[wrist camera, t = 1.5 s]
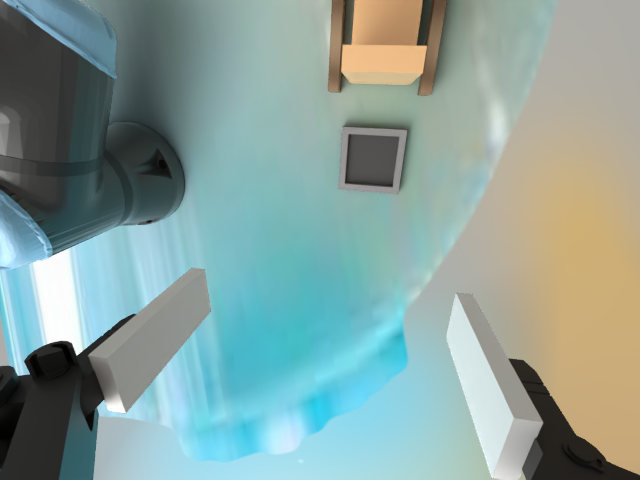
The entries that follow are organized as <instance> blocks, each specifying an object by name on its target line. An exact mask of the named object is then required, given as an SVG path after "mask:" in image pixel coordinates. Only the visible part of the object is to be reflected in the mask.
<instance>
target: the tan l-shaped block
mask: <svg viewBox="0 0 640 480" xmlns="http://www.w3.org/2000/svg"><path fill="white" fill-rule="evenodd" d="M422 3H423V0H355V4H354V18H353V33H352V45H343V50H342V67H341V72H342V73H343V74H344V76H345V77H346V78H347V80H348V81H349V82H350V83H358V84H391V85H410V84H411V83H412V82H413V81H414V80H416V79H417V78H418V77H419V76H420V75H421V74H422V73H423V68H424V62H425V55H426V49H427V46H416V45H417V38H418V31H419V24H420V17H421V10H422Z"/></svg>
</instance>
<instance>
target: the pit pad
mask: <svg viewBox="0 0 640 480" xmlns="http://www.w3.org/2000/svg"><path fill="white" fill-rule="evenodd" d="M406 136H407V130H402V129H382V128H362V127H342V143H341V158H340V173H339V188H338V189H342V190H354V191H367V192H380V193H392V194H398V191H399V184H400V178H401V171H402V164H403V157H404V150H405V143H406Z"/></svg>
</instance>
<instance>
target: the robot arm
mask: <svg viewBox="0 0 640 480" xmlns="http://www.w3.org/2000/svg"><path fill="white" fill-rule="evenodd" d="M116 46H117V39H116V35H115V32H114V30H113V28H112V26H111V25H110V23H109V22H108V21H107V19H106V18H104V17H103V16H102V15H101V14H100V13H98V12H97V11H95V10H94V9H92V8H90V7H89V6H87V5H85V4H84V3H82V2H80V1H78V0H0V270H10V269H15V268H19V267H21V266H24V265H27V264H29V263H32V262H35V261H37V260H44V259H47V258H49V257H51V256H52V255H55V254H57V253H59V252H61V251H64V250H66V249H68V248H70V247H72V246H75V245H77V244H79V243H81V242H83V241H86V240H88V239H90V238H92V237H94V236H97V235H99V234H101V233H103V232H105V231H108V230H110V229H112V228H114V227H117V226H125V225H146V224H152V223H155V222H158V221H160V220H162V219H164V218H166V217H168V216H170V215H171V214H172V213H173V212H175V210H176V209H177V208H178V207H179V205H180V203H181V201H182V198H183V194H184V176H183V171H182V168H181V165H180V162H179V160H178V158H177V156H176V154H175V152H174V151H173V149H172V148H171V147H170V145H169V144H168V143H167V142H166V141H165V140H164V139H163V138H162V137H161V136H160V135H159V134H158V133H156V132H155V131H153V130H152V129H150V128H148V127H146V126H144V125H141V124H138V123H134V122H111V123H108V122H109V115H110V108H111V101H112V93H113V86H114V79H117V74H116V72H115V60H116ZM210 312H211V307H210V301H209V294H208V288H207V281H206V275H205V269H197V268H191V269H190V270H189V271H188V272H186V273H185V274H184V275H183V276H182V277H180V278H179V279H178V280H177V281H176V282H174V283H173V284H172V285H171V286H170V287H169V288H167V289H166V290H165V291H164V292H163V293H161V294H160V295H159V296H158V297H157V298H155V299H154V300H153V301H152V302H151V303H149V304H148V305H147V306H146V307H145V308H144V309H142V310H141V311H140V312H139V313H138V314H132V315H130V316H128V317H126V318H124V319H122V320H121V321H119V322H118V323H117V324H116V325H114V326H113V327H112V328H111V330H108V331H107V332H106V333H105V334H104V335H103V336H101V337H100V338H98V339H97V340H96V341H95V342H93V343H92V344H91V345H90V346H89V347H87V348H86V349H85V350H84V351H82V352H81V353H80V354H79V355H77V356H76V353H75V351H74V348H73V345H72V343H70V342H68V341H58V342H53V343H50V344H47V345H44V346H42V347H40V348H39V349H37V350H35V351H33V352H32V353H31V354H30V355H28V356H27V358H26V359H25V361H24V362H25V364H26V366H27V368H28V370H29V372H30V375H22V376H18V375H17V373H16V371H15V369H14V367H11V366H0V480H93V473H94V462H95V450H96V439H97V427H98V426H97V425H98V415H99V414H98V410H97V406H98V405H99V404H100V403H101V402H102V401H103V400H105V403H106V406H107V408H108V410H109V411H114V412H120V413H127V412H128V410H129V409H130V408H131V407H132V405H133V404H134V403H135V402H136V401H137V399H138V398H139V397H140V396H141V395H142V393H143V392H144V391H145V390H146V389H147V387H148V386H149V385H150V384H151V383H152V381H153V380H154V379H155V378H156V377H157V375H158V374H159V373H160V372H161V371H162V369H163V368H164V367H165V366H166V365H167V363H168V362H169V361H170V360H171V359H172V357H173V356H174V355H175V354H176V353H177V351H178V350H179V349H180V348H181V346H182V345H183V344H184V343H185V342H186V340H187V339H188V338H189V337H190V336H191V334H192V333H193V332H194V331H195V330H196V328H197V327H198V326H199V325H200V324H201V322H202V321H203V320H204V319H205V318H206V316H207V315H208V314H209V313H210ZM446 339H447V342H448V345H449V348H450V351H451V355H452V358H453V361H454V364H455V367H456V370H457V373H458V376H459V379H460V382H461V385H462V388H463V392H464V395H465V398H466V401H467V404H468V407H469V410H470V413H471V416H472V419H473V422H474V425H475V428H476V431H477V434H478V438H479V441H480V444H481V447H482V450H483V453H484V456H485V459H486V462H487V465H488V468H489V472H490V475H491V478H495V479H501V480H519V478H520V475H521V473H522V471H523V473H524V475H525V477H526V480H640V475H638V474H635V473H633V472H630V471H628V470H625V469H623V468H621V467H618V466H616V465H614V464H611V463H610V462H607V461H606V459H605V457H604V456H603V455H602V454H601V453H600V452H599V451H598V450H597V448H596V447H594V446H593V445H592V444H590V443H589V442H587V441H586V440H585V439H583V438H581V437H578V436H576V434H575V433H574V431H573V430H572V428H571V427H570V425H569V423H568V422H567V420H566V418H565V417H564V415H563V414H562V412H561V411H560V409H559V407H558V406H557V404H556V403H555V401H554V399H553V398H552V396H550V393H549V392H548V390H547V388H546V387H545V386H544V385H543V382H542V381H541V379H540V377H539V376H538V374H537V373H536V372H535V370H534V369H533V368H531V367H530V366H529V365H528V364H527V363H526V362H525V361H524V360H517V359H509V358H507V356H506V354H505V352H504V350H503V349H502V347H501V345H500V343H499V341H498V340H497V338H496V336H495V334H494V332H493V330H492V329H491V327H490V325H489V323H488V321H487V319H486V318H485V316H484V314H483V312H482V310H481V309H480V307H479V305H478V303H477V302H476V300H475V298H474V296H473V294H464V293H456V295H455V299H454V304H453V309H452V313H451V318H450V323H449V327H448V332H447V336H446Z"/></svg>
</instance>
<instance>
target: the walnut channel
mask: <svg viewBox="0 0 640 480" xmlns="http://www.w3.org/2000/svg"><path fill="white" fill-rule="evenodd" d="M446 3H447V0H432V2H431V9H430V16H429V22H428V29H427V36H426V42H425V46H427V49H426V55H425V62H424V68H423V73H422V74H421V75H420V82H419V89H418V95H427V96H428V95H431V93H432V87H433V81H434V75H435V69H436V63H437V57H438V51H439V45H440V39H441V33H442V27H443V21H444V15H445V9H446ZM345 6H346V0H332V14H331V36H330V58H329V79H328V91H330V92H340V89H341V67H342V50H343V39H344V22H345Z"/></svg>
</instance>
